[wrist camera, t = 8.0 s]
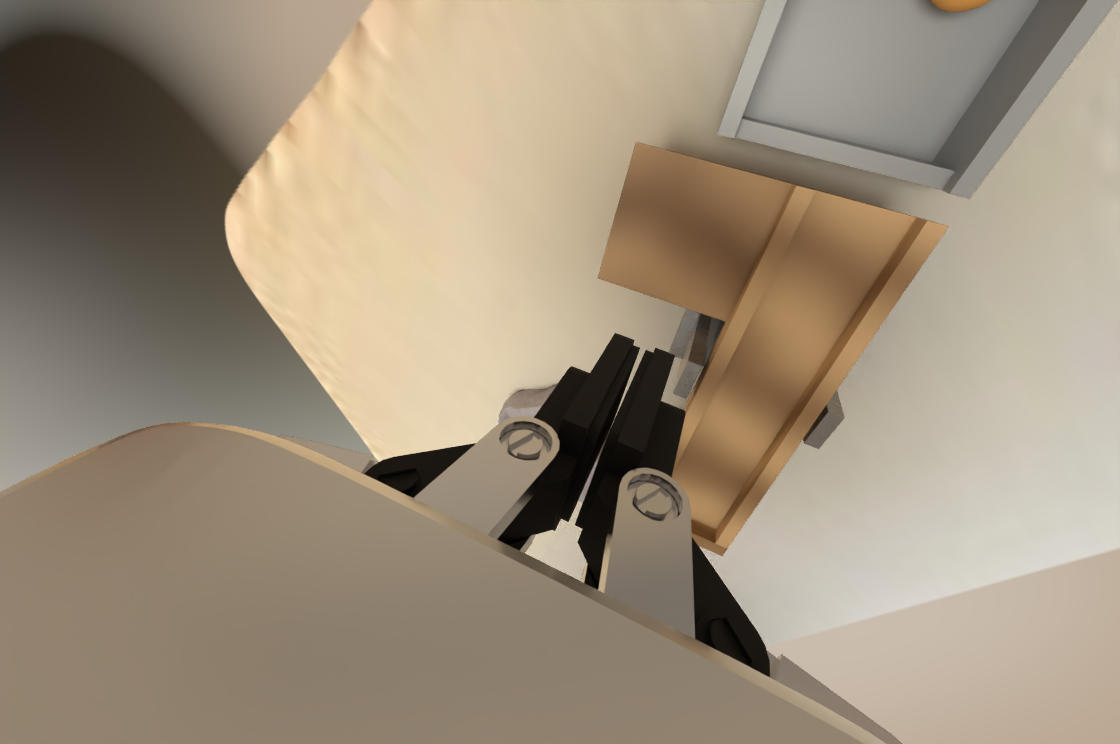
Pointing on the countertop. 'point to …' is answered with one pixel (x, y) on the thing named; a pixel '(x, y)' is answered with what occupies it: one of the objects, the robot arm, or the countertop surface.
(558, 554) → the countertop surface
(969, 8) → the ball
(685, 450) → the seesaw
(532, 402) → the stone block
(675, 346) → the fulcrum
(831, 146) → the tray
